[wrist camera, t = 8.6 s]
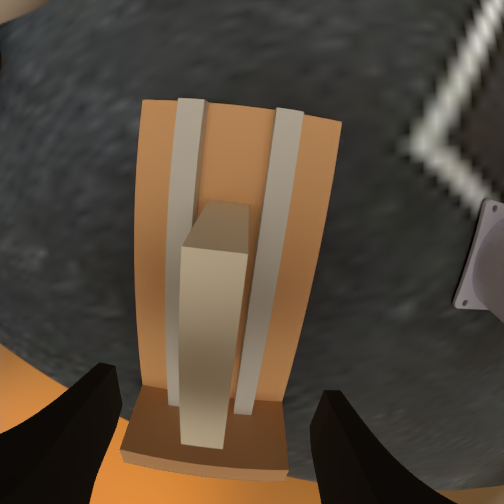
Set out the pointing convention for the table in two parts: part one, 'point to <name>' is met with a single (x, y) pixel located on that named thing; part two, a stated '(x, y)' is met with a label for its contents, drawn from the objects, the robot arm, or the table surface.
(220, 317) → the door panel
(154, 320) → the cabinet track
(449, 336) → the table surface
